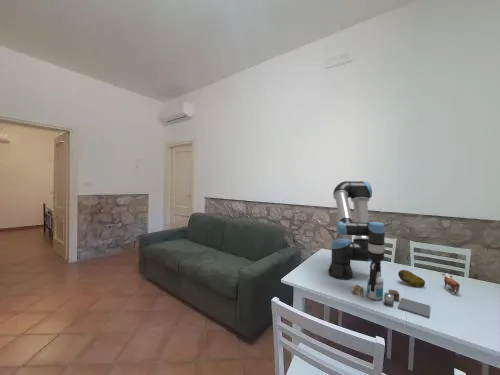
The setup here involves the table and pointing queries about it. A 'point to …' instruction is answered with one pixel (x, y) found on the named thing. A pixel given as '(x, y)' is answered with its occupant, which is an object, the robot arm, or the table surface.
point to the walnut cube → (395, 294)
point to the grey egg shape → (389, 299)
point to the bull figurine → (451, 283)
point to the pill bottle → (378, 287)
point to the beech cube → (357, 290)
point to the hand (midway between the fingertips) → (374, 293)
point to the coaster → (414, 307)
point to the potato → (411, 278)
